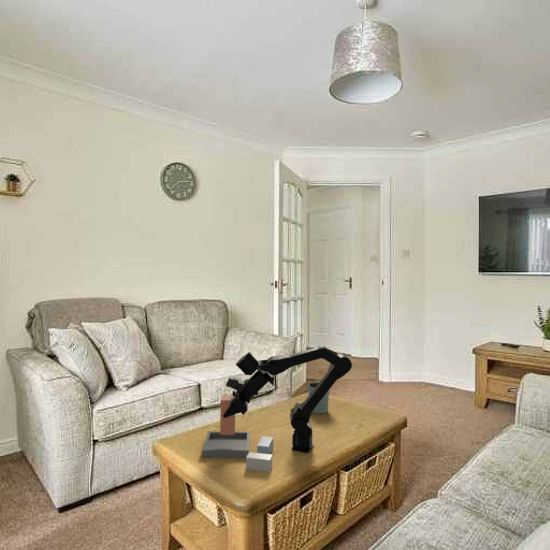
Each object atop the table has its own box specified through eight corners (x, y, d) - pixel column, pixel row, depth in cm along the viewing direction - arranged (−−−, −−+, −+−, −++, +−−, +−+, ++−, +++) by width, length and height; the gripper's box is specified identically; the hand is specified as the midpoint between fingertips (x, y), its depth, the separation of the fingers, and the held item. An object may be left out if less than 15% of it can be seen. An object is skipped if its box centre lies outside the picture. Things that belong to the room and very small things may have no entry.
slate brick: (262, 447, 149) (262, 436, 149) (273, 448, 148) (273, 437, 148) (257, 456, 141) (257, 445, 141) (268, 458, 140) (268, 446, 140)
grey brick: (272, 466, 135) (272, 454, 134) (269, 472, 131) (270, 460, 131) (249, 463, 136) (249, 452, 136) (246, 469, 132) (246, 457, 132)
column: (235, 429, 150) (235, 395, 150) (234, 434, 145) (234, 400, 145) (221, 429, 150) (221, 395, 150) (220, 434, 145) (220, 400, 145)
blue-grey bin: (323, 416, 181) (323, 389, 181) (303, 411, 186) (303, 385, 186) (332, 409, 189) (333, 384, 189) (313, 405, 195) (314, 380, 195)
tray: (249, 438, 156) (249, 431, 156) (248, 457, 140) (248, 450, 140) (208, 438, 155) (208, 431, 155) (202, 457, 139) (202, 450, 139)
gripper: (240, 362, 156) (211, 390, 156) (237, 375, 138) (205, 407, 138) (260, 382, 157) (232, 410, 157) (260, 398, 138) (228, 430, 138)
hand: (224, 414), depth 147 cm, fingers closed on column, 5 cm apart
